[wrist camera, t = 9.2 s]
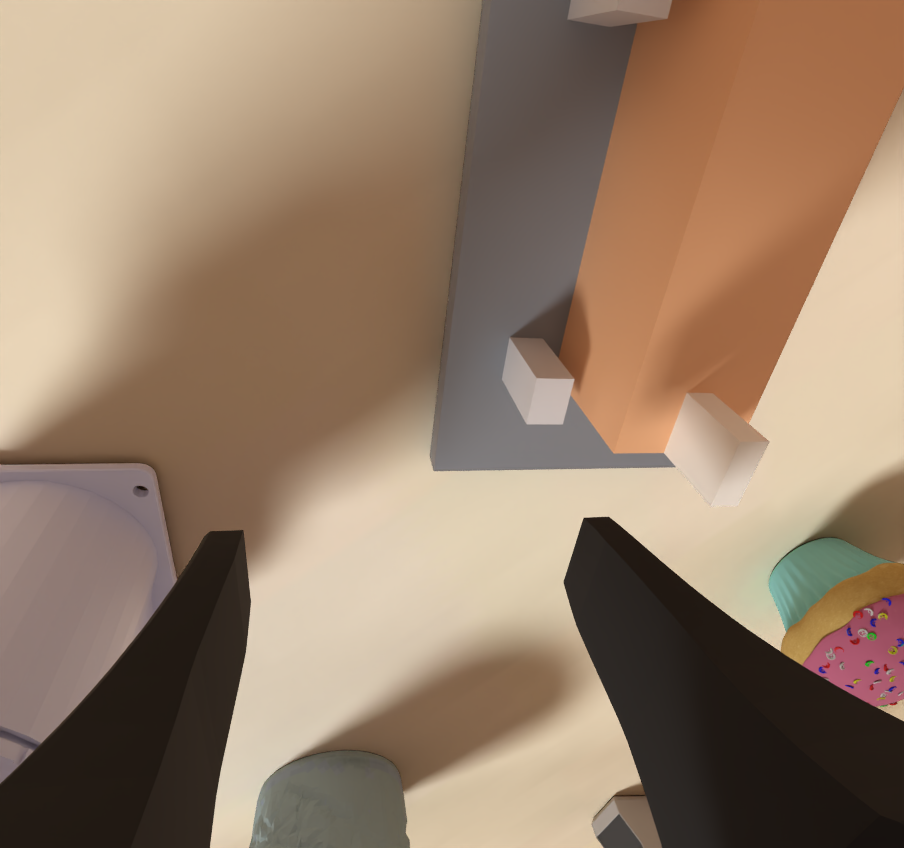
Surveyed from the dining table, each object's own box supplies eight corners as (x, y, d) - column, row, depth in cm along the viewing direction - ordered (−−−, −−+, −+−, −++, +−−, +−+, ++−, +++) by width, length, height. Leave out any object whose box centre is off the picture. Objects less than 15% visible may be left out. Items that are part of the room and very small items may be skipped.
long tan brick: (654, 375, 21) (790, 504, 15) (554, 373, 20) (654, 508, 14) (794, -33, 15) (1127, -104, 9) (657, -61, 14) (918, -163, 8)
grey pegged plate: (696, 453, 25) (752, 512, 21) (429, 456, 22) (446, 524, 19) (961, -182, 14) (1149, -257, 11) (518, -315, 12) (592, -464, 9)
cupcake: (900, 550, 32) (1160, 770, 22) (777, 636, 34) (958, 868, 24) (840, 485, 28) (1124, 718, 18) (704, 588, 30) (887, 842, 20)
